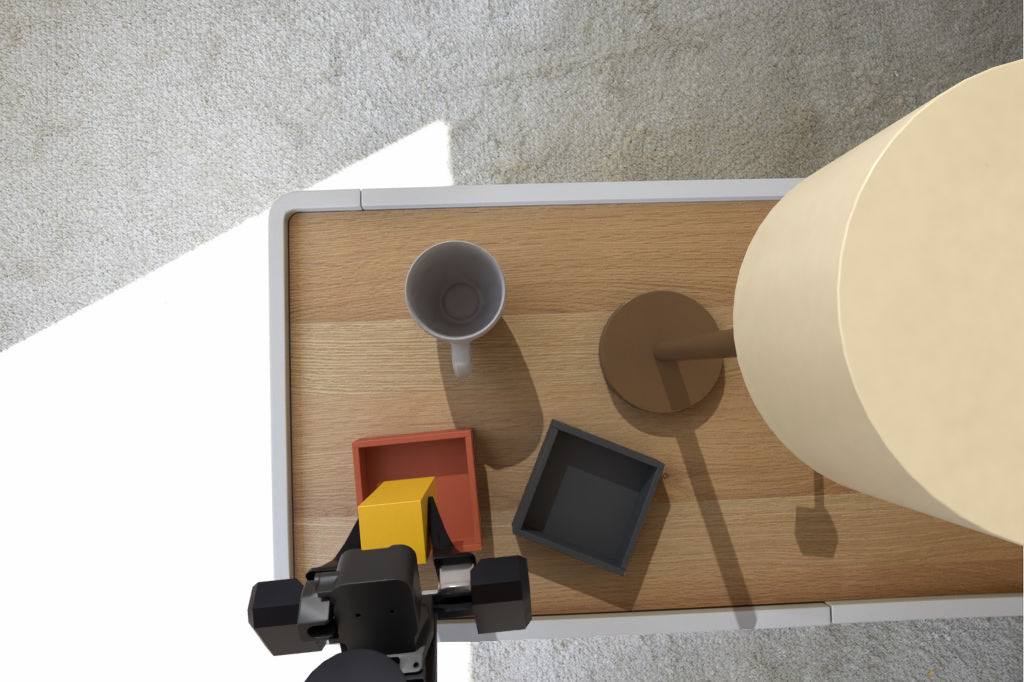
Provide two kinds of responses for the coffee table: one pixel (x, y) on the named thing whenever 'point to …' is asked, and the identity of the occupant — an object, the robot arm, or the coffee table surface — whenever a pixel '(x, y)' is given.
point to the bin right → (587, 497)
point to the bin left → (427, 475)
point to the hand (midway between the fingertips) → (400, 502)
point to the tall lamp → (876, 315)
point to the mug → (456, 296)
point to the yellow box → (398, 516)
